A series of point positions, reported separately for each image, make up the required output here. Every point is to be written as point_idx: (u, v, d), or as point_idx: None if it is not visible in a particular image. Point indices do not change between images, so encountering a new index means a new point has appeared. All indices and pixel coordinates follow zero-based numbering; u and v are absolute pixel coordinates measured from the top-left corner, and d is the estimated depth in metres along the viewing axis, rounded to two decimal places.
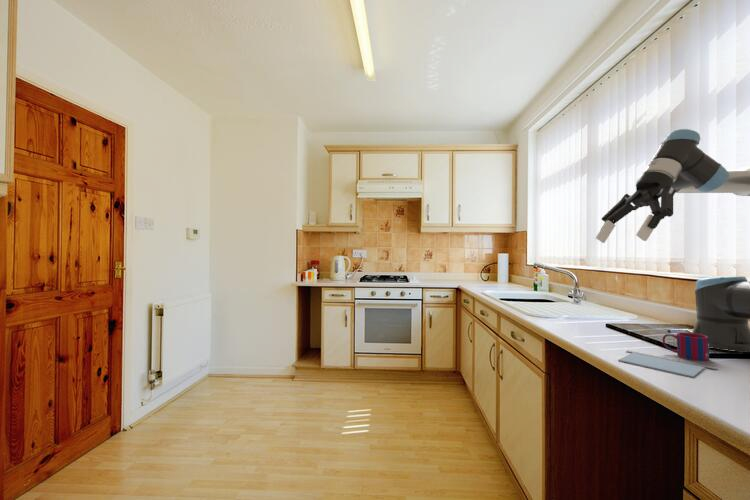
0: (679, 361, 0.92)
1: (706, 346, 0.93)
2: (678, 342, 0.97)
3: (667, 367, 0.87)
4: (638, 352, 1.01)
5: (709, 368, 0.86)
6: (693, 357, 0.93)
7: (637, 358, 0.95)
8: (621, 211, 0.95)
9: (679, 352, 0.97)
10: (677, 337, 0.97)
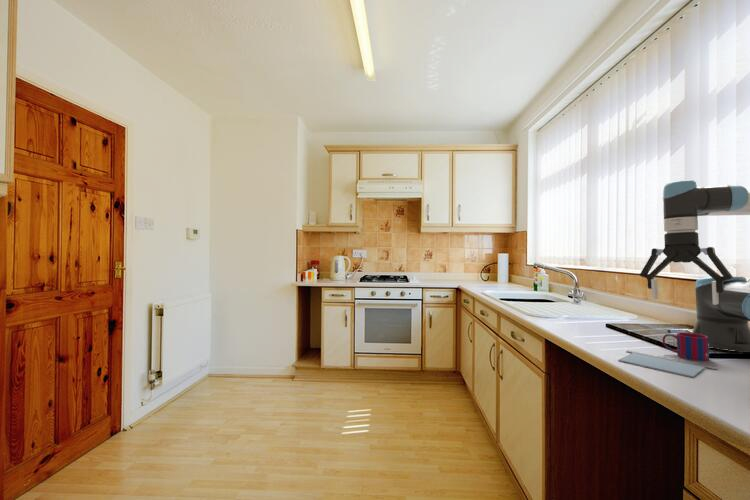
0: (679, 361, 0.92)
1: (706, 346, 0.93)
2: (678, 342, 0.97)
3: (667, 367, 0.87)
4: (638, 352, 1.01)
5: (709, 368, 0.86)
6: (693, 357, 0.93)
7: (637, 358, 0.95)
8: (661, 268, 1.01)
9: (679, 352, 0.97)
10: (677, 337, 0.97)
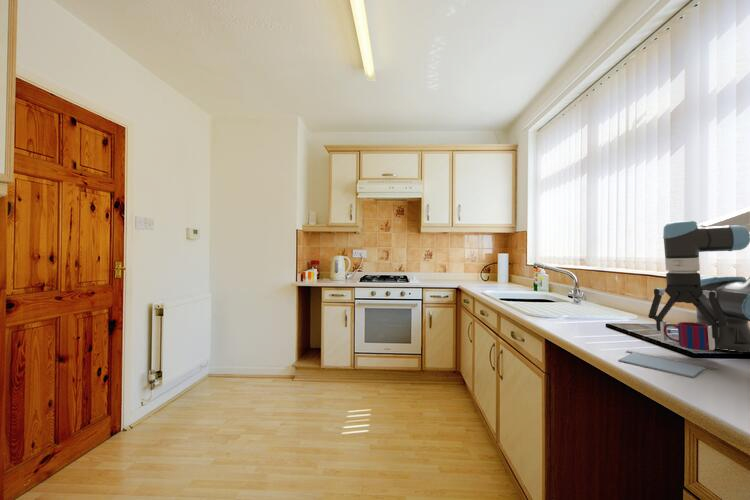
0: (679, 361, 0.92)
1: (707, 335, 0.93)
2: (679, 332, 0.97)
3: (667, 367, 0.87)
4: (638, 352, 1.01)
5: (709, 368, 0.86)
6: (695, 346, 0.93)
7: (637, 358, 0.95)
8: (668, 309, 1.00)
9: (681, 342, 0.97)
10: (678, 327, 0.97)
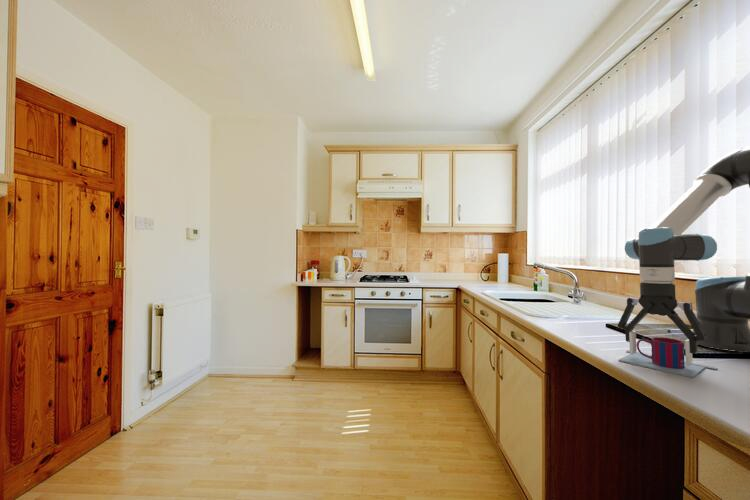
0: None
1: (681, 352, 0.86)
2: (652, 348, 0.90)
3: None
4: (638, 352, 1.01)
5: (709, 368, 0.86)
6: (667, 364, 0.87)
7: (637, 358, 0.95)
8: (639, 320, 0.94)
9: (653, 358, 0.90)
10: (651, 342, 0.91)
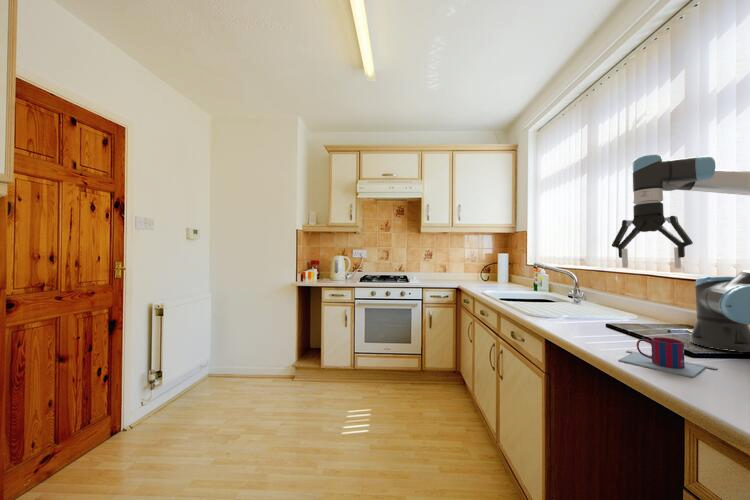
0: None
1: (681, 352, 0.86)
2: (652, 348, 0.90)
3: None
4: (638, 352, 1.01)
5: (709, 368, 0.86)
6: (667, 364, 0.87)
7: (637, 358, 0.95)
8: (631, 238, 1.08)
9: (653, 358, 0.90)
10: (651, 342, 0.91)
